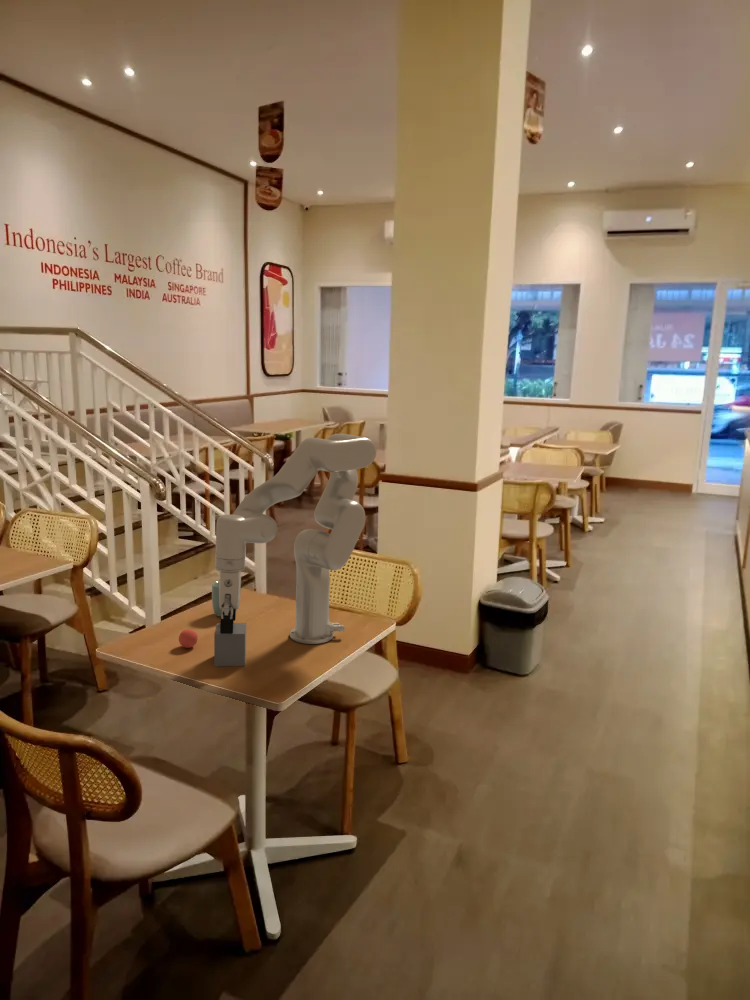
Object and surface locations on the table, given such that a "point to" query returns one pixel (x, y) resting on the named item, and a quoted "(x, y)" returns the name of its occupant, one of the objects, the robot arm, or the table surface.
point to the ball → (188, 638)
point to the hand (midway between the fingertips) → (227, 626)
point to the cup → (216, 599)
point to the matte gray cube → (230, 646)
